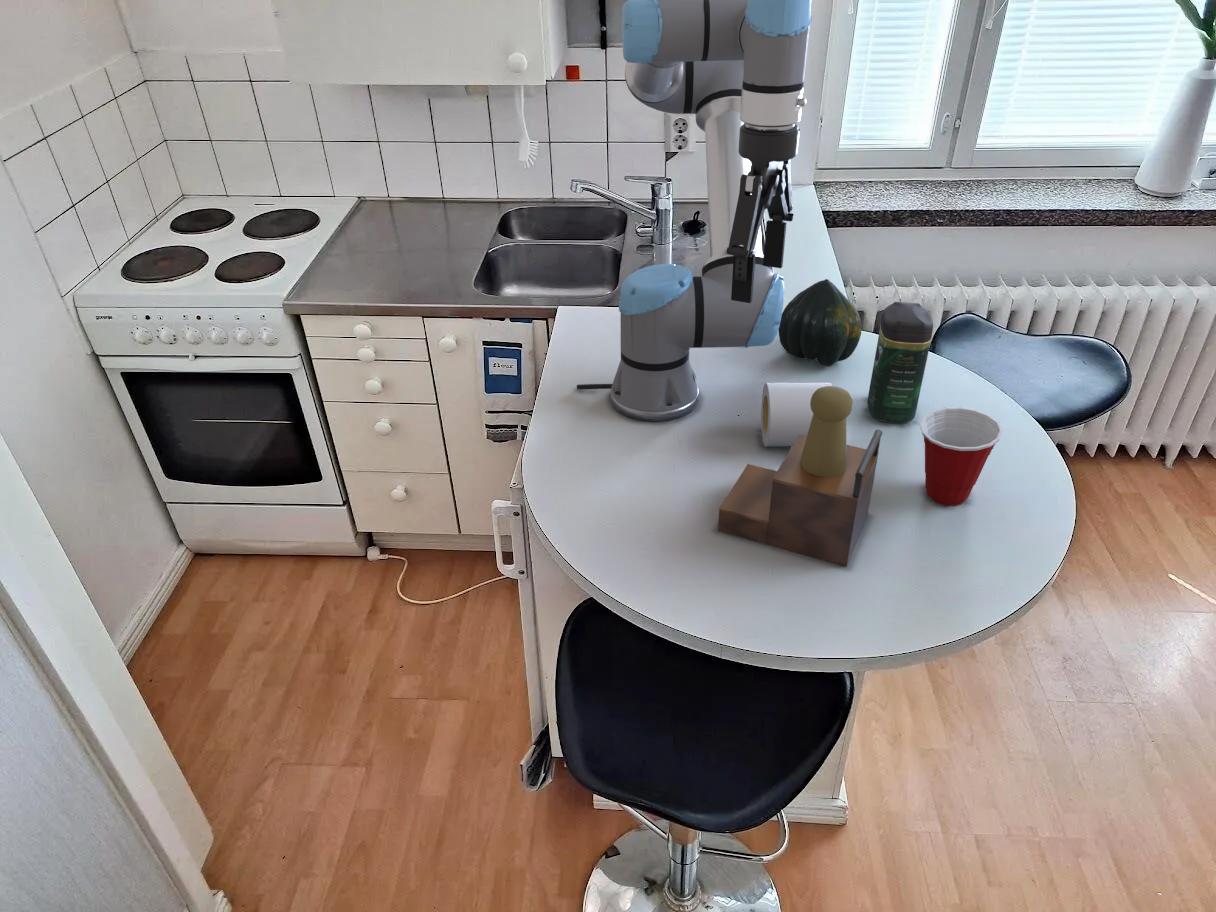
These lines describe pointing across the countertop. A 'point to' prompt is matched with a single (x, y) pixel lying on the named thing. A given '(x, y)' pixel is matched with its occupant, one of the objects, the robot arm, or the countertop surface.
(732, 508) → the brown wooden stepped block
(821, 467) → the pale yellow rounded piece
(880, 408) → the coffee jar
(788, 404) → the toilet paper
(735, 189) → the robot arm
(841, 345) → the squash
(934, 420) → the plastic cup
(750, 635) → the countertop surface
